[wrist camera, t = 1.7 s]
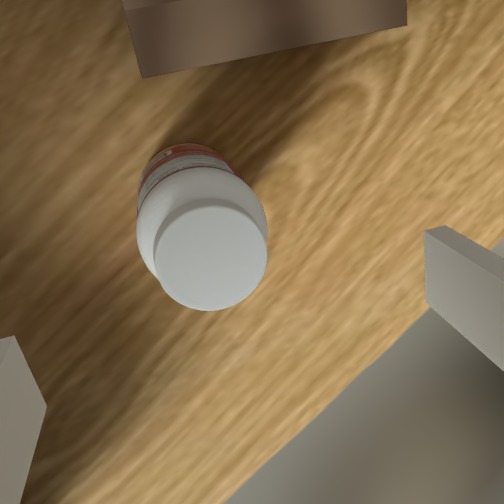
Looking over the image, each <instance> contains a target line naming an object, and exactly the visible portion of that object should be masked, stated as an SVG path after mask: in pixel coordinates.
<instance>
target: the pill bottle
mask: <svg viewBox="0 0 504 504" xmlns="http://www.w3.org/2000/svg"><path fill="white" fill-rule="evenodd" d="M267 234H268V230H267V220H266V216H265V212H264V209H263V207H262V205H261V202H260V200H259V199H258V197H257V196H256V194H255V193H254V191H253V190H252V189H251V188H250V186H249V185H248V184H247V183H246V182H245V181H244V179H243V178H242V177H241V176H240V175H239V174H238V172H237V171H236V170H235V169H234V168H233V166H232V165H231V164H230V163H229V162H228V161H227V160H226V159H225V158H224V157H223V156H222V155H221V154H219V153H218V152H217V151H215V150H213V149H211V148H209V147H206V146H203V145H199V144H179V145H175V146H172V147H169V148H167V149H165V150H163V151H161V152H160V153H158V154H157V155H156V156H155V157H153V158H152V159H151V160H150V162H149V163H148V164H147V166H146V167H145V169H144V171H143V173H142V175H141V177H140V181H139V185H138V199H137V226H136V235H137V243H138V248H139V251H140V254H141V256H142V258H143V260H144V262H145V264H146V266H147V267H148V269H149V270H150V271H151V273H152V274H153V275H154V276H155V277H156V278H157V279H158V280H159V282H160V284H161V286H162V287H163V289H164V290H165V291H166V293H167V294H168V295H169V296H170V297H172V298H173V299H174V300H175V301H177V302H178V303H180V304H182V305H184V306H186V307H189V308H192V309H196V310H203V311H214V310H221V309H224V308H228V307H230V306H233V305H235V304H237V303H239V302H240V301H242V300H243V299H245V298H246V297H247V296H249V295H250V294H251V293H252V292H253V290H254V289H255V288H256V287H257V286H258V284H259V283H260V281H261V279H262V277H263V275H264V272H265V269H266V266H267V258H268V251H267V245H266V242H267Z"/></svg>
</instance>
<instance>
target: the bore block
mask: <svg viewBox="0 0 504 504" xmlns="http://www.w3.org/2000/svg"><path fill="white" fill-rule="evenodd" d="M122 3H123V7H124V11H125V15H126V19H127V23H128V27H129V30H130V34H131V38H132V42H133V46H134V50H135V54H136V57H137V61H138V65H139V69H140V73H141V77H142V79H143V78H148V77H153V76H158V75H163V74H168V73H173V72H178V71H183V70H188V69H193V68H198V67H203V66H208V65H213V64H218V63H223V62H228V61H233V60H238V59H243V58H248V57H252V56H257V55H262V54H267V53H272V52H277V51H282V50H287V49H292V48H297V47H302V46H307V45H312V44H317V43H322V42H327V41H332V40H337V39H342V38H347V37H352V36H357V35H362V34H367V33H372V32H377V31H382V30H387V29H392V28H397V27H402V26H407V3H406V0H122Z"/></svg>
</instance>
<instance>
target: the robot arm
mask: <svg viewBox="0 0 504 504" xmlns="http://www.w3.org/2000/svg"><path fill="white" fill-rule="evenodd" d="M424 254H425V291H426V303H427V304H428V305H429V306H430V307H432V308H433V309H434V310H435V311H436V312H437V313H438V314H440V315H441V316H442V317H443V318H444V319H445V320H446V321H447V322H449V323H450V324H451V325H452V326H453V327H454V328H455V329H457V330H458V331H459V332H460V333H461V334H462V335H463V336H465V338H467V339H468V340H469V341H470V342H471V343H472V344H473V345H475V346H476V347H477V348H478V349H479V350H480V351H481V352H482V353H484V354H485V355H486V356H487V357H488V358H489V359H490V360H491V361H493V362H494V363H495V364H496V365H497V366H498V367H499V368H501V369H502V370H503V371H504V258H502V257H500V256H498V255H496V254H495V253H493V252H491V251H490V250H488V249H486V248H484V247H482V246H481V245H479V244H477V243H475V242H474V241H472V240H470V239H468V238H467V237H465V236H463V235H461V234H460V233H458V232H456V231H454V230H453V229H451V228H449V227H447V226H446V225H445V226H441V227H437V228H433V229H429V230H425V231H424ZM46 409H47V405H46V403H45V401H44V399H43V396H42V394H41V392H40V390H39V388H38V386H37V383H36V381H35V379H34V377H33V375H32V373H31V370H30V368H29V366H28V364H27V362H26V360H25V357H24V355H23V353H22V351H21V349H20V347H19V344H18V342H17V340H16V338H15V336H10V337H6V338H2V339H0V504H20V501H21V498H22V494H23V491H24V487H25V483H26V480H27V476H28V473H29V469H30V466H31V462H32V459H33V455H34V451H35V448H36V444H37V441H38V437H39V434H40V430H41V426H42V423H43V419H44V416H45V412H46Z"/></svg>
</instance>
